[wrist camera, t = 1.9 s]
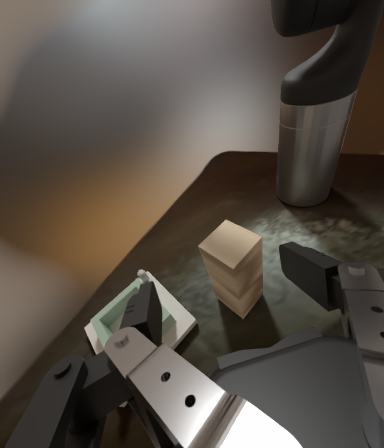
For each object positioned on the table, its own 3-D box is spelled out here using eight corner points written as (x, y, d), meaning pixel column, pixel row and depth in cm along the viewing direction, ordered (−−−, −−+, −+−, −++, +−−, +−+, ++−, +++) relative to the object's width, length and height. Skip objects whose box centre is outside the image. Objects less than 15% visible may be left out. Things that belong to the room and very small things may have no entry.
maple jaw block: (236, 275, 30) (225, 219, 22) (262, 293, 27) (262, 236, 19) (217, 297, 29) (198, 246, 20) (243, 319, 26) (233, 269, 18)
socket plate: (150, 274, 34) (141, 262, 32) (197, 322, 27) (191, 312, 24) (88, 330, 30) (73, 321, 28) (124, 407, 22) (107, 404, 20)
